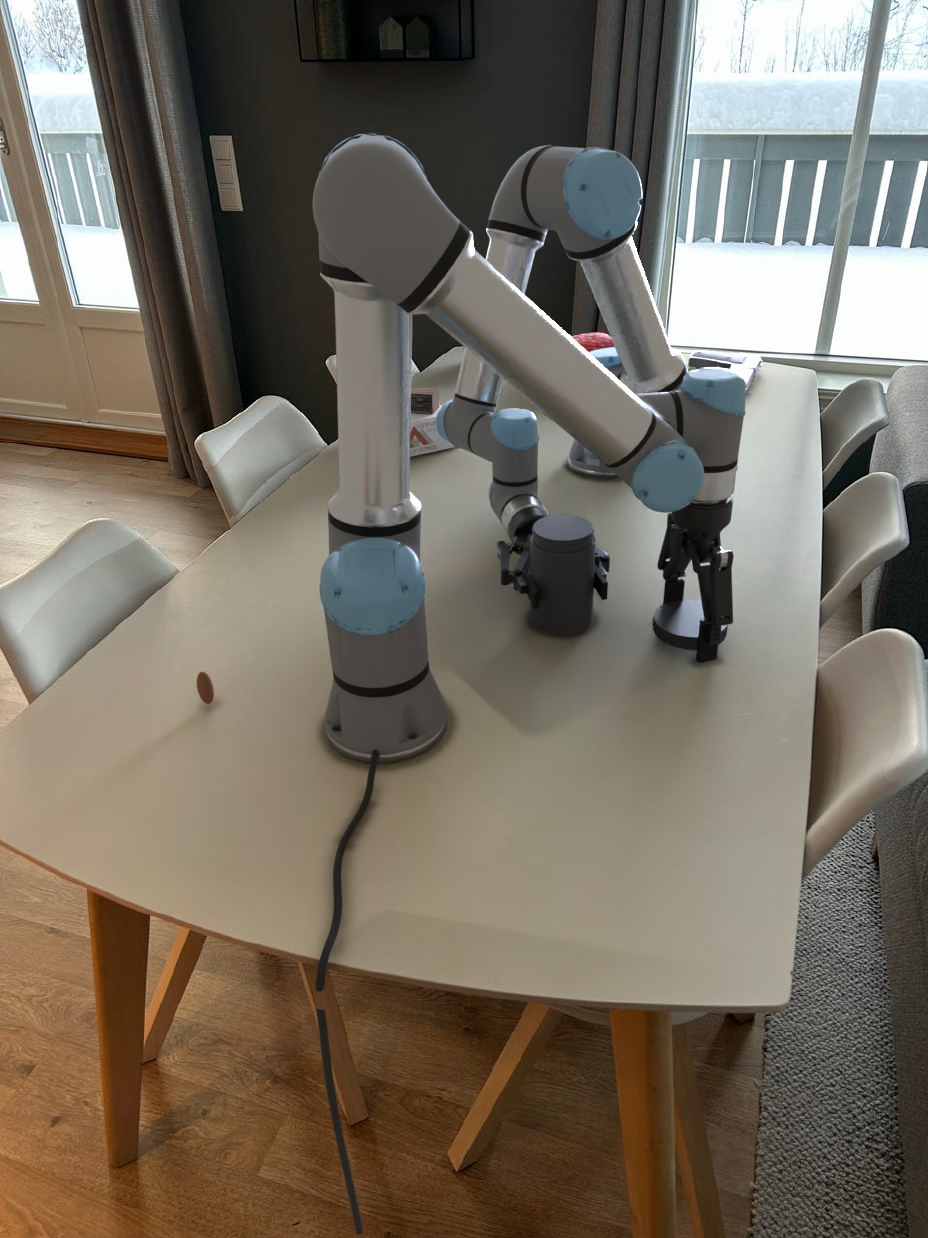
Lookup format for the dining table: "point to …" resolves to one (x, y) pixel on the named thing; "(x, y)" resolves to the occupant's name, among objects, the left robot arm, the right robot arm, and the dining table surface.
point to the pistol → (727, 363)
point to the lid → (681, 624)
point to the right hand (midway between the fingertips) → (571, 595)
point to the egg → (205, 687)
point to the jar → (563, 574)
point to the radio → (425, 422)
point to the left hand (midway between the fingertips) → (688, 639)
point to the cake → (594, 341)
